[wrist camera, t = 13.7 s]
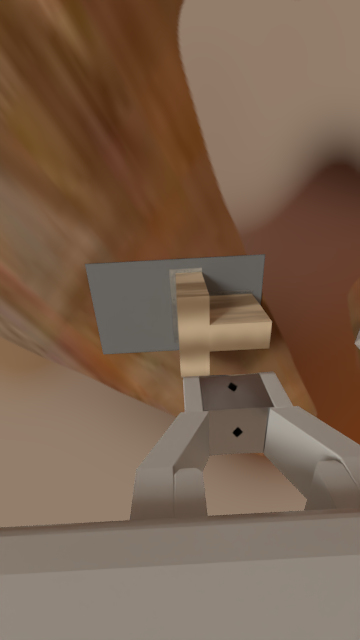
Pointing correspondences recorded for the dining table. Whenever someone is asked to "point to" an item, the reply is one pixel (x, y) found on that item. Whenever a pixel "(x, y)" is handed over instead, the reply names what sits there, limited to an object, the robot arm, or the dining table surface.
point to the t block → (215, 323)
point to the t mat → (159, 297)
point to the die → (358, 340)
